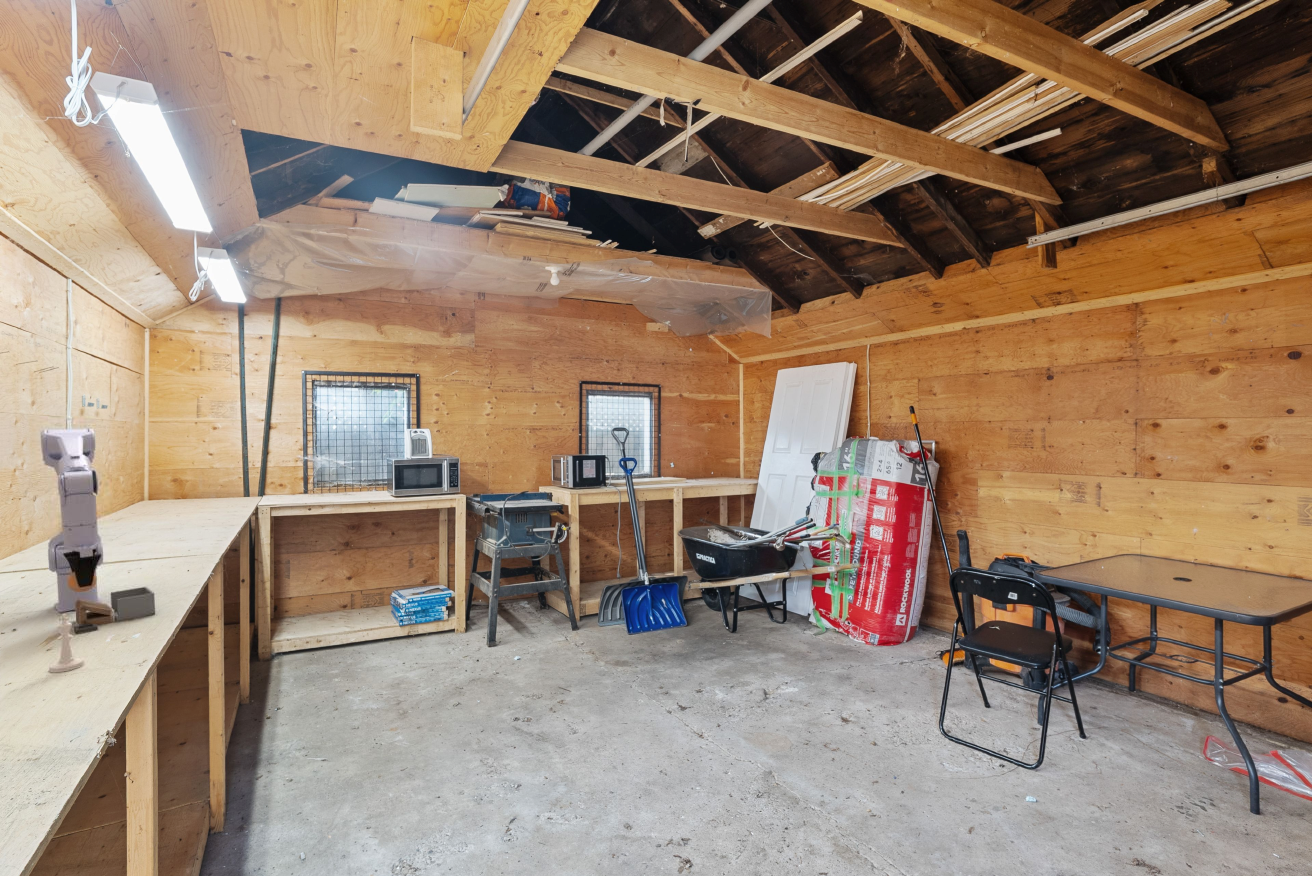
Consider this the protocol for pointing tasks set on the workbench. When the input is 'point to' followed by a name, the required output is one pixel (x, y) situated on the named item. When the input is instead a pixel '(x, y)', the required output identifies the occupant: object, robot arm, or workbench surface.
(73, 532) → the robot arm
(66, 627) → the chess piece
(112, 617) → the ramp
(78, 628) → the dark gray picture frame
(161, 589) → the workbench surface
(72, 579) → the ball
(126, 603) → the gray open storage bin
